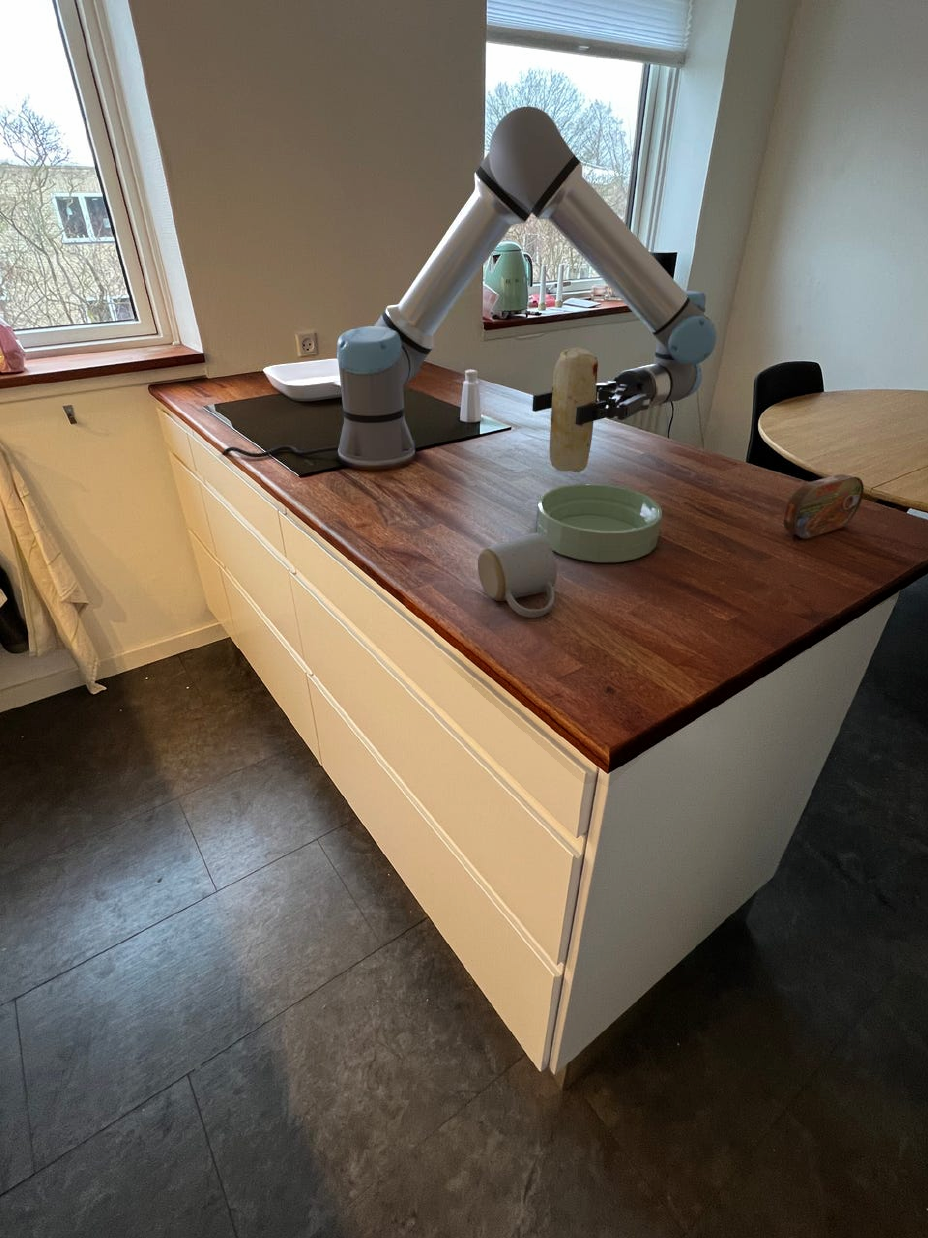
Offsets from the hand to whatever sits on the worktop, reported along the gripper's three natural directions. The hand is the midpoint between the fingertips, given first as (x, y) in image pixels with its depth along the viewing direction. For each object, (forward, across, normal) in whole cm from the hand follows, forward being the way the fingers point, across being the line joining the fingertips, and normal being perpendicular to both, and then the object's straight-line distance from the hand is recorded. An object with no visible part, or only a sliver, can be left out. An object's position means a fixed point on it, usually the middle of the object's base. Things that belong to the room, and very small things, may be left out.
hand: (555, 409), depth 106 cm
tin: (-20, -39, -14) cm, 46 cm away
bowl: (+9, -18, -14) cm, 25 cm away
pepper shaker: (-17, +42, -14) cm, 48 cm away
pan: (-3, +84, -14) cm, 85 cm away
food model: (-4, 0, -11) cm, 12 cm away
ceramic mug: (+30, -25, -14) cm, 41 cm away
